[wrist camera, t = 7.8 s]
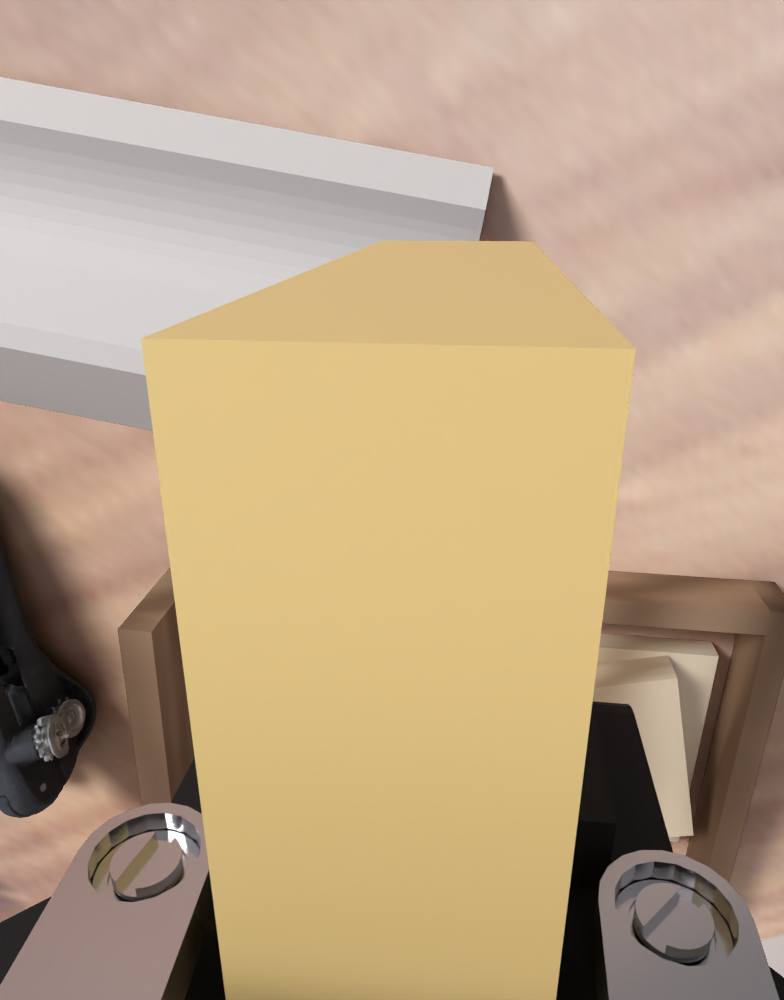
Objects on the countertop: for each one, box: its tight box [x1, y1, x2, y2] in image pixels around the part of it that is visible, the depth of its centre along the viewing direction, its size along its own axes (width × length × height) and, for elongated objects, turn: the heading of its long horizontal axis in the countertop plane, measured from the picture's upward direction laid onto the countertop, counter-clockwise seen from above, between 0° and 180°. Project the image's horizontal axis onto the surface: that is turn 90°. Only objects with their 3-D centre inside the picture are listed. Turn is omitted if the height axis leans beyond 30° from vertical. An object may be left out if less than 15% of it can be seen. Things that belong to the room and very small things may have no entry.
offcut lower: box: [597, 633, 719, 842], centre depth 33 cm, size 8×10×2 cm
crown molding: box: [0, 77, 494, 431], centre depth 27 cm, size 31×12×4 cm, turn 80°
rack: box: [118, 568, 784, 882], centre depth 31 cm, size 24×16×7 cm, turn 89°
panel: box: [141, 240, 636, 1000], centre depth 10 cm, size 2×12×9 cm, turn 0°
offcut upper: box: [593, 655, 694, 837], centre depth 31 cm, size 6×8×2 cm
